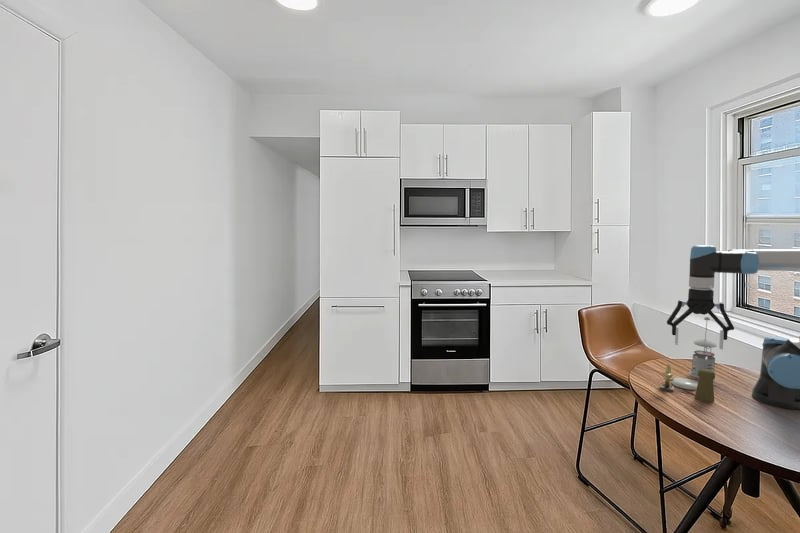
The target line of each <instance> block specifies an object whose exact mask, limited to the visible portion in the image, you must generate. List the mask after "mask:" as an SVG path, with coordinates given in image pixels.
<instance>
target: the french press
mask: <svg viewBox="0 0 800 533" xmlns="http://www.w3.org/2000/svg"><path fill="white" fill-rule="evenodd" d="M710 319H711V318H710V317H708V316H705V317H704V319H703V320H705V321H706V322H705V330H707V326H708V321H710ZM706 338H707V332H705V334H704V339H698V340H694V341H693V344H694V345H695V346H699V347H703V348H704V349H703V350H700V349H699V350H697V349H696V350H694V351H693V354H692V361H691V370H690V371H689V372H688V375H689V376H691V377H693V378H697V379H699V376H698V371H699V370H700V369H708V370H712V371H713V372H714V373H715V364H716V358H715V353H714V352H712V348H717V346H718V345H717V344H716V343H714V342H713V341H712V340H709V339H706ZM709 349H710V351H707V350H709ZM706 357H707V358H706ZM716 379H717V376H716V375H715V378H714V380H716Z"/></svg>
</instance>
